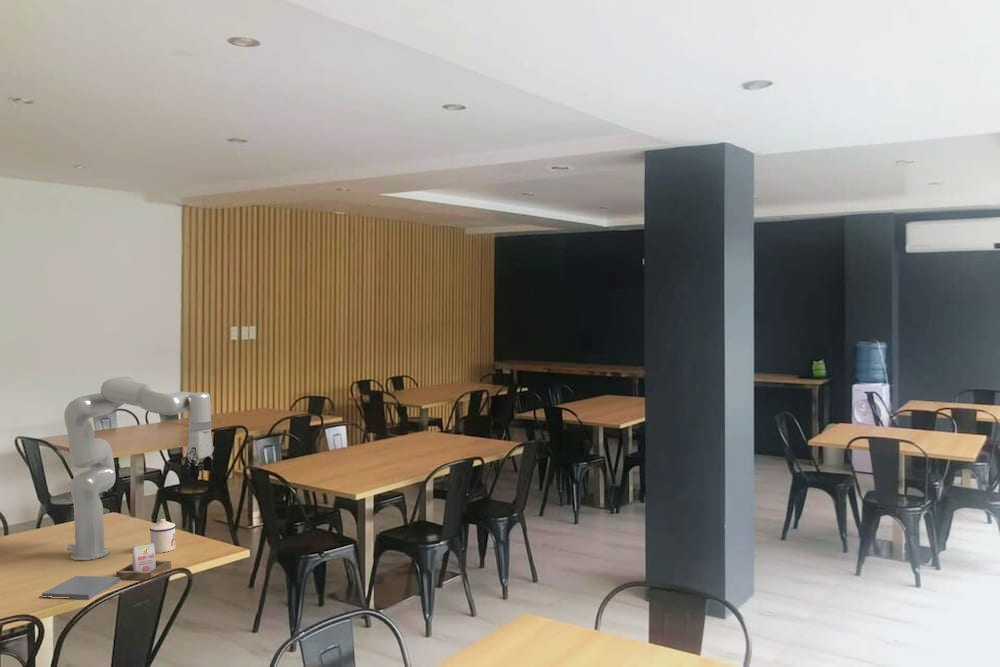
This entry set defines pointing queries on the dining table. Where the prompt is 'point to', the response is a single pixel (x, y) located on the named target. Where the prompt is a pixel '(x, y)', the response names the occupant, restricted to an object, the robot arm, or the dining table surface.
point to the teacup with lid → (163, 536)
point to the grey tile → (82, 587)
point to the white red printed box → (144, 558)
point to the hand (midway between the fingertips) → (201, 473)
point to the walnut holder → (136, 575)
